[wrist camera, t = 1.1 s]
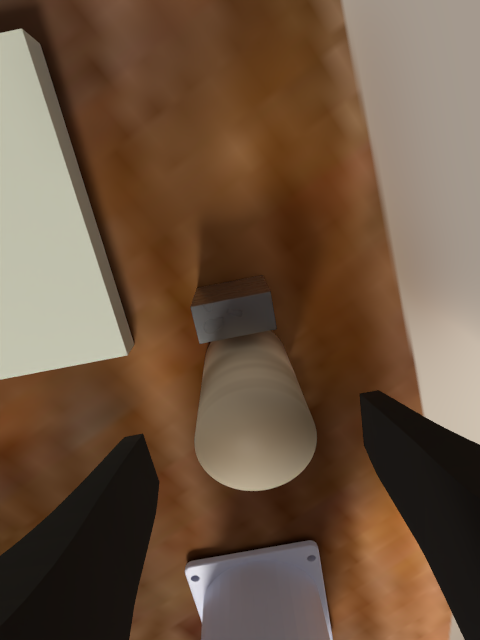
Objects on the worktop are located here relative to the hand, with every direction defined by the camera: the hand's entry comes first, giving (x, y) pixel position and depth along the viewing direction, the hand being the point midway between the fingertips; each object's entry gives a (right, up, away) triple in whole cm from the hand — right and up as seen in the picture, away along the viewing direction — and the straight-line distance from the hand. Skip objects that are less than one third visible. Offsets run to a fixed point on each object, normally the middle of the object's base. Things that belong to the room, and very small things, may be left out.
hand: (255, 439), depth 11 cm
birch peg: (0, +2, +6) cm, 6 cm away
